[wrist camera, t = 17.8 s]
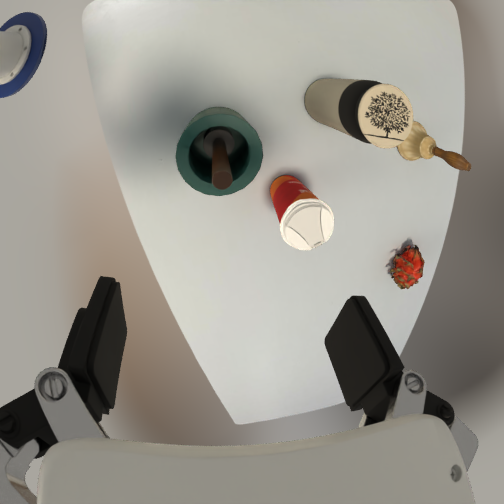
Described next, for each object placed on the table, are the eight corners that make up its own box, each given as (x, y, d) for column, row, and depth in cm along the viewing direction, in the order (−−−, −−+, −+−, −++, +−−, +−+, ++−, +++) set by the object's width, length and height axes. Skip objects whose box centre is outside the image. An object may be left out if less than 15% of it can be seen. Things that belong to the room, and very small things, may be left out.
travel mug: (308, 73, 36) (365, 71, 21) (352, 86, 37) (421, 97, 22) (299, 118, 40) (349, 141, 25) (342, 128, 41) (405, 158, 27)
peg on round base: (202, 150, 40) (194, 200, 24) (206, 123, 38) (200, 153, 22) (229, 153, 41) (242, 206, 25) (234, 127, 39) (252, 160, 23)
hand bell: (394, 123, 41) (453, 147, 28) (425, 119, 41) (483, 141, 28) (398, 163, 46) (451, 197, 33) (427, 156, 46) (480, 187, 33)
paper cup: (313, 196, 48) (344, 237, 37) (275, 216, 50) (296, 262, 38) (295, 160, 44) (325, 191, 33) (255, 182, 45) (271, 220, 34)
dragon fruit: (386, 276, 65) (398, 233, 60) (415, 284, 62) (429, 242, 57) (384, 291, 58) (399, 244, 53) (416, 300, 55) (433, 255, 50)
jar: (181, 164, 42) (171, 190, 32) (190, 103, 36) (182, 108, 27) (243, 171, 44) (252, 200, 34) (256, 112, 39) (271, 122, 29)
